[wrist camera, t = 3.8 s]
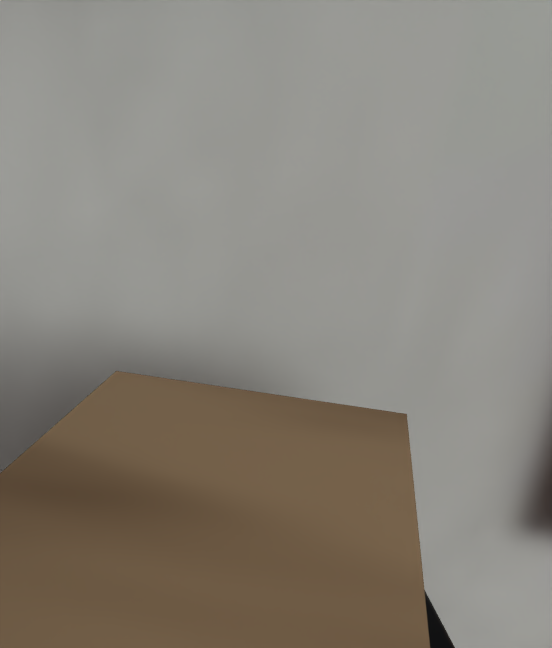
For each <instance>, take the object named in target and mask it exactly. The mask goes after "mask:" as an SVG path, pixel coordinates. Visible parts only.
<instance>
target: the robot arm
mask: <svg viewBox="0 0 552 648" xmlns="http://www.w3.org/2000/svg"><path fill="white" fill-rule="evenodd" d="M424 592H425V590H424ZM425 602H426V612H427V622H428V631H429V641H430V648H455V647H454V645H453V643H452V641H451V640H450V638H449V636H448V634H447V632H446V630H445V628H444V626H443V624H442V622H441V620H440V619H439V617H438V615H437V613H436V611H435V609H434V607H433V605H432V603H431V601H430V599H429V598H428V596H427V594H426V592H425Z"/></svg>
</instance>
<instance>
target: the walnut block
mask: <svg viewBox="0 0 552 648" xmlns="http://www.w3.org/2000/svg"><path fill="white" fill-rule="evenodd" d="M0 648H430V641H429V631H428V622H427V612H426V602H425V592H424V582H423V572H422V562H421V552H420V542H419V532H418V522H417V512H416V502H415V492H414V482H413V472H412V462H411V452H410V443H409V433H408V423H407V414H402V413H396V412H389V411H382V410H375V409H369V408H362V407H355V406H348V405H342V404H335V403H328V402H321V401H315V400H308V399H301V398H294V397H288V396H281V395H274V394H268V393H261V392H254V391H247V390H241V389H234V388H227V387H220V386H214V385H207V384H200V383H193V382H187V381H180V380H173V379H166V378H160V377H153V376H146V375H139V374H133V373H126V372H119V371H116V372H115V373H114V374H112V375H111V376H110V377H109V378H108V379H107V380H106V381H104V382H103V383H102V384H101V385H100V386H99V387H98V388H97V389H95V390H94V391H93V392H92V393H91V394H90V395H89V396H87V397H86V398H85V399H84V400H83V401H82V402H81V403H80V404H78V405H77V406H76V407H75V408H74V409H73V410H72V411H70V412H69V413H68V414H67V415H66V416H65V417H64V418H62V419H61V420H60V421H59V422H58V423H57V424H56V425H55V426H53V427H52V428H51V429H50V430H49V431H48V432H47V433H45V434H44V435H43V436H42V437H41V438H40V439H39V440H38V441H36V442H35V443H34V444H33V445H32V446H31V447H30V448H28V449H27V450H26V451H25V452H24V453H23V454H22V455H20V456H19V457H18V458H17V459H16V460H15V461H14V462H13V463H11V464H10V465H9V466H8V467H7V468H6V469H5V470H3V471H2V472H1V473H0Z"/></svg>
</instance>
